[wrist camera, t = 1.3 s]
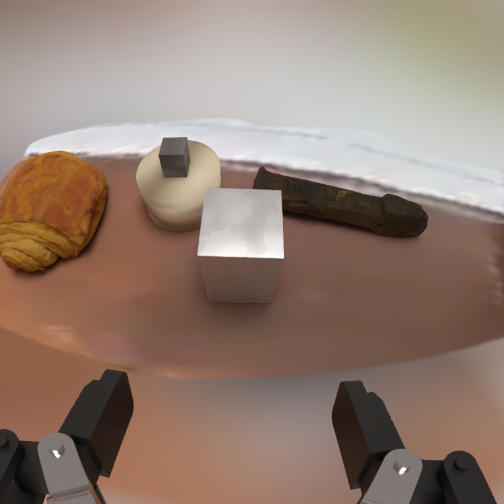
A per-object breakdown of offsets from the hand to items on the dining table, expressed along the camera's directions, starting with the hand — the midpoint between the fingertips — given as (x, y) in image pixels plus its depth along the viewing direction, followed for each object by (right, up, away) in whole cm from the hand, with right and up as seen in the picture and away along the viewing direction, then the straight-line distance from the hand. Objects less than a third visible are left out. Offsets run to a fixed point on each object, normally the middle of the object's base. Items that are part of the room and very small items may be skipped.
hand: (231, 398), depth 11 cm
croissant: (-22, +9, +21) cm, 32 cm away
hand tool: (+10, +9, +22) cm, 26 cm away
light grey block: (0, +3, +18) cm, 19 cm away
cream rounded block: (-6, +11, +22) cm, 25 cm away
